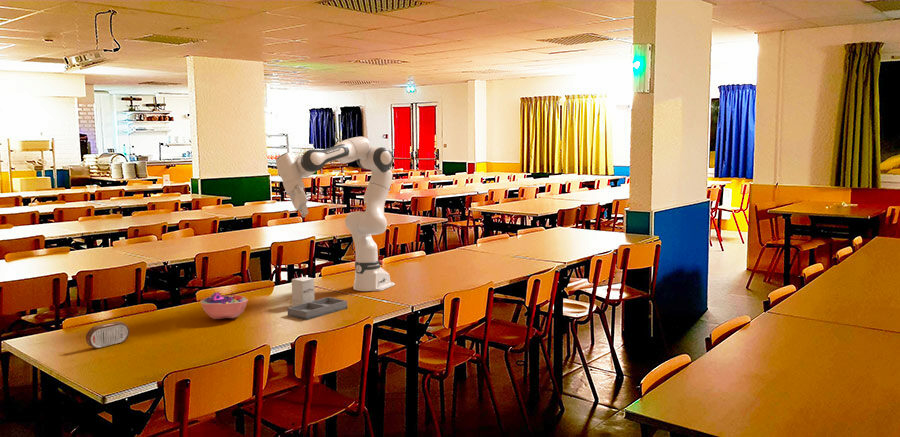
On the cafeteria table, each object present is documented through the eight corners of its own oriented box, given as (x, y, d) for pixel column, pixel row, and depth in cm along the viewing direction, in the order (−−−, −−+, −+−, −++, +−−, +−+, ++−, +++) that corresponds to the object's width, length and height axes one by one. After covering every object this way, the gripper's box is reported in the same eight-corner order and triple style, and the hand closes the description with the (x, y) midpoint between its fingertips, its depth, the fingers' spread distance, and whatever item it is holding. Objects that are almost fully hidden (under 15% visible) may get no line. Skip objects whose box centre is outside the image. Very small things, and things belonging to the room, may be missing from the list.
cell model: (236, 325, 278) (235, 298, 276) (192, 322, 281) (191, 296, 280) (256, 314, 294) (255, 288, 293) (214, 312, 298) (213, 287, 297)
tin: (127, 340, 258) (125, 318, 257) (131, 341, 256) (129, 320, 255) (86, 350, 247) (84, 327, 246) (90, 351, 245) (88, 329, 244)
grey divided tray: (328, 304, 310) (328, 297, 309) (347, 308, 303) (347, 300, 302) (287, 315, 291) (287, 307, 290) (306, 320, 284) (306, 312, 283)
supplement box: (302, 308, 303) (301, 280, 302) (292, 306, 308) (290, 278, 306) (315, 305, 309) (314, 278, 307) (304, 302, 313) (303, 276, 312)
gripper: (303, 181, 300) (315, 210, 300) (299, 189, 319) (309, 216, 319) (290, 185, 298) (301, 214, 298) (286, 193, 317) (296, 220, 317)
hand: (305, 215), depth 309 cm, fingers open, 8 cm apart
